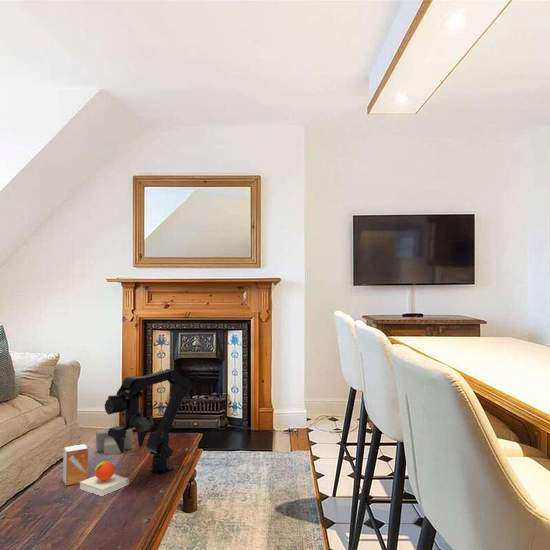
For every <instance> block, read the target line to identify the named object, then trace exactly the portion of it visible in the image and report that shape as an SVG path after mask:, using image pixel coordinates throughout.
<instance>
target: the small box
mask: <svg viewBox="0 0 550 550" xmlns="http://www.w3.org/2000/svg"><path fill="white" fill-rule="evenodd" d="M62 458H63V464H62V465H63V466H62V481H63V483H64V485H65V486H66V485H67V486H70V485H75V484H80V482H81V481H84V480H86V479H89V478H88V474H89V447H88V446H87V445H86V443H83V444H77V445H71V446H65V447H63V457H62Z"/></svg>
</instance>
